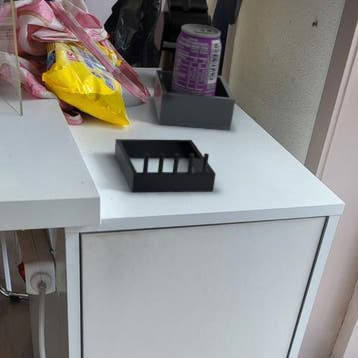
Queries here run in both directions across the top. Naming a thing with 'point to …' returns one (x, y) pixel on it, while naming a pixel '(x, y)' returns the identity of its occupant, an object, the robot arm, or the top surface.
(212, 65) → the beverage can
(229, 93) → the grey storage bin
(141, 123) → the top surface
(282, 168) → the top surface
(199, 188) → the dish rack
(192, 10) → the robot arm
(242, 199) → the top surface
